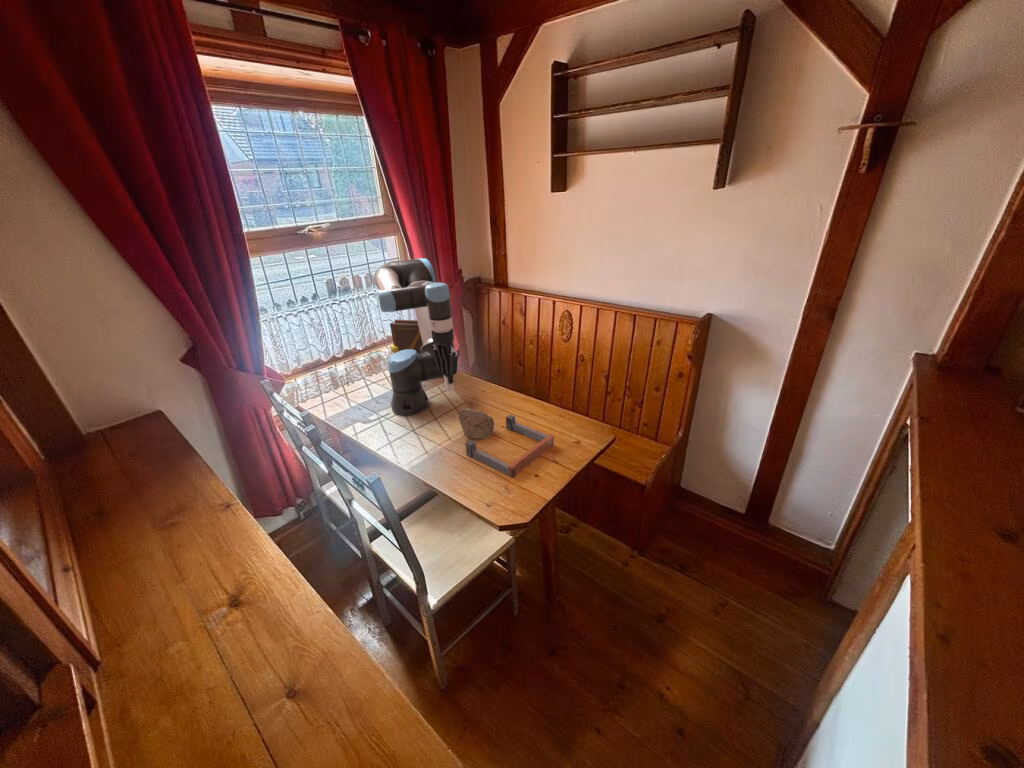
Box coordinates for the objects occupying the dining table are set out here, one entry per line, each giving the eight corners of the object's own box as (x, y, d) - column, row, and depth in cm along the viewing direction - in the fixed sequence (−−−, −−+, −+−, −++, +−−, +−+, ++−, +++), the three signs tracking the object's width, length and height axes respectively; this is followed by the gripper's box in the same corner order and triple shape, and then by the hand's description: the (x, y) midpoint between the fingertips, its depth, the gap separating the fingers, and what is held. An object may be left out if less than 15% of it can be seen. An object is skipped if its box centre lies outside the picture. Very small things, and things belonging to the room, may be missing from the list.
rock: (493, 407, 158) (497, 411, 151) (490, 435, 159) (494, 440, 152) (456, 405, 155) (458, 409, 147) (453, 433, 156) (455, 438, 148)
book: (441, 369, 206) (435, 320, 195) (434, 376, 199) (427, 326, 188) (400, 366, 211) (391, 318, 200) (392, 374, 204) (382, 324, 193)
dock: (466, 455, 143) (465, 442, 141) (510, 425, 158) (510, 414, 156) (511, 478, 131) (510, 465, 129) (554, 444, 147) (554, 432, 144)
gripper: (421, 329, 146) (430, 389, 157) (446, 336, 139) (454, 399, 149) (437, 323, 151) (445, 382, 162) (463, 329, 144) (469, 391, 154)
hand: (449, 390), depth 155 cm, fingers closed
